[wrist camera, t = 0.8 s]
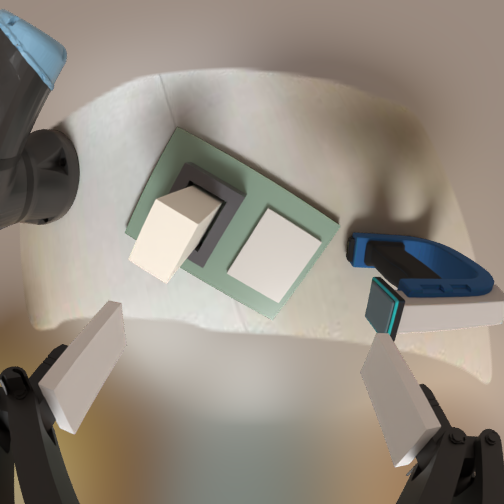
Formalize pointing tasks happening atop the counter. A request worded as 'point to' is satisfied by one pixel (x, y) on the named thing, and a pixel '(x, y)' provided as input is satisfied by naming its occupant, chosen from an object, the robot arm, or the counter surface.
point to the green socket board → (240, 225)
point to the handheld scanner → (424, 286)
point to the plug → (174, 230)
